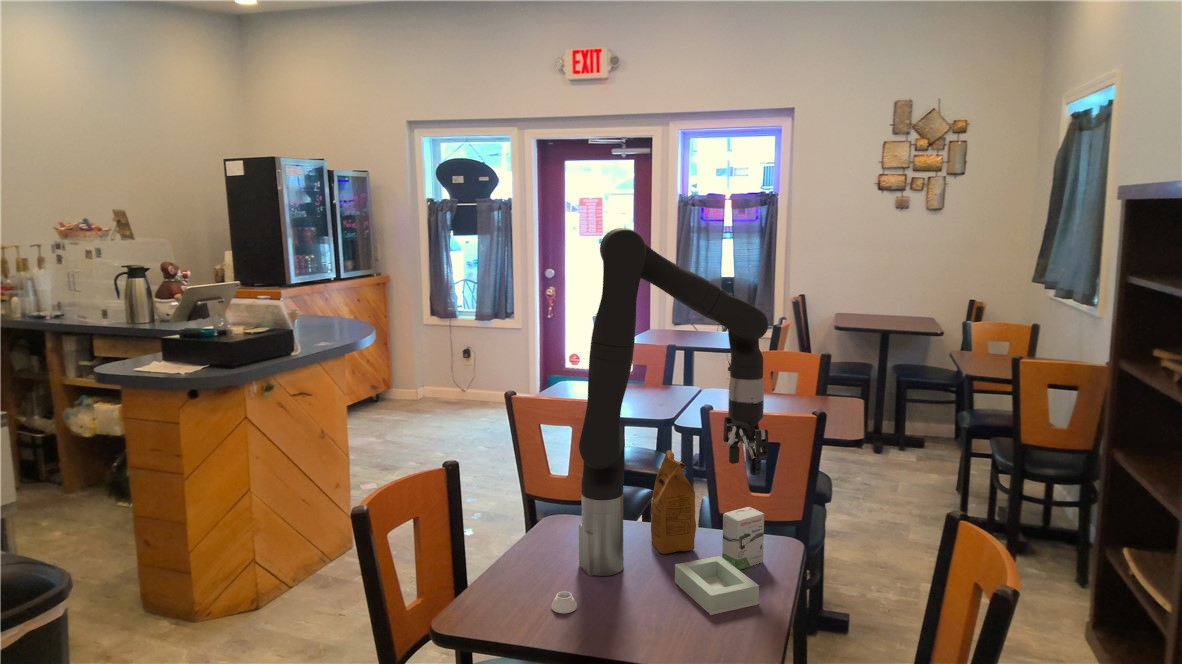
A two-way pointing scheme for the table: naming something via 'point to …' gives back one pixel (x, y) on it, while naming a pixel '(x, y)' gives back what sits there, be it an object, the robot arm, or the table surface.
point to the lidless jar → (564, 603)
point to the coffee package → (672, 508)
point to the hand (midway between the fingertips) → (744, 468)
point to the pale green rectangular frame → (716, 585)
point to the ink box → (743, 537)
